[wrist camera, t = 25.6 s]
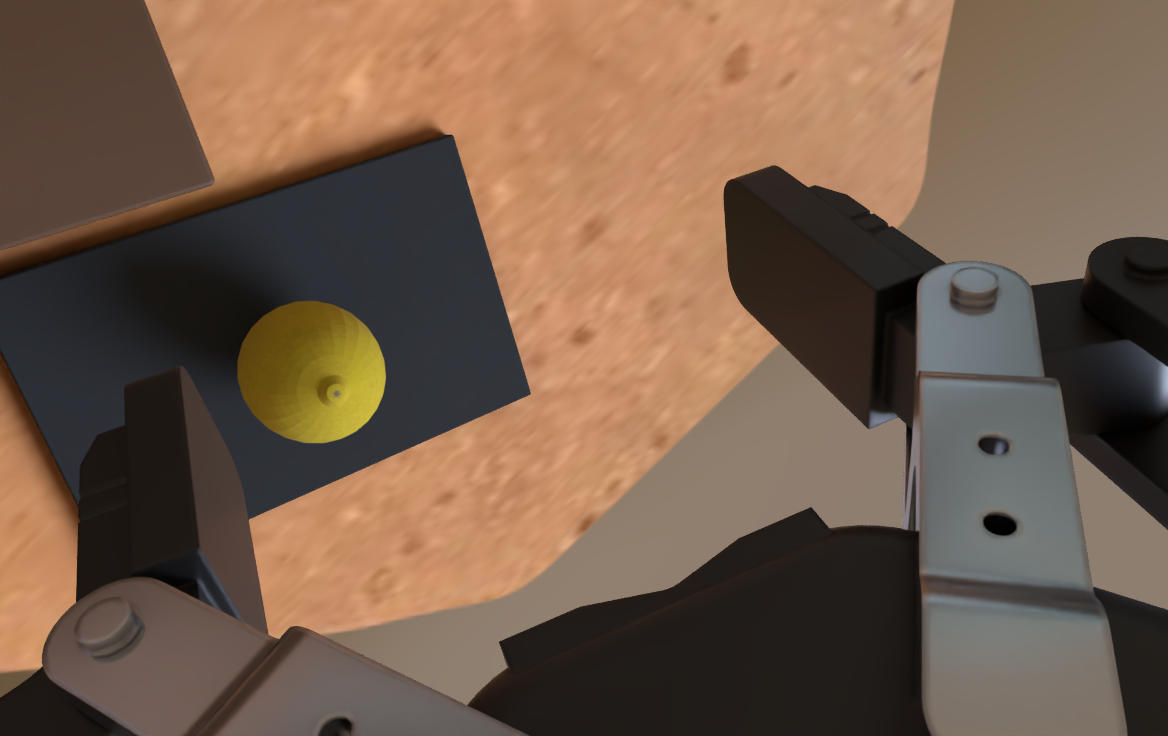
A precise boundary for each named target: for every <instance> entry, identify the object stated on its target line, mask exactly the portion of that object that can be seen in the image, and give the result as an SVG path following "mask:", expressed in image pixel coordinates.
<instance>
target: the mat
mask: <svg viewBox="0 0 1168 736" xmlns="http://www.w3.org/2000/svg"><path fill="white" fill-rule="evenodd" d="M299 301H318V302H323V303H328V304H333V305H335V306H337V307H339V308H341V309H344V310H346V311H348V312H350V313H352V314H353V315H354V316H355V317H356V318H358V319H359V320H360V321H361V322H362V323H363V324H365V325H366V326H367V328H368V329H369V330H370V332H371V333H372V335H373V336H374V338H375V339H376V341H377V342H378V344H379V347H380V350H381V353H382V355H383V358H384V362H385V373H386V381H385V387H384V393H383V396H382V399H381V401H380V403H379V406H378V408H377V410H376V411H375V412H374V414H373V415H372V416H371V418H370V419H369V420H368V422H366V423H365V424H364V425H363V426H362V427H360V428H359V429H358V430H357V431H356V432H354V433H352V434H350V435H348V436H346V437H344V438H342V439H339V440H335V441H331V442H326V443H303V442H299V441H295V440H292V439H288V438H285V437H283V436H281V435H279V434H277V433H276V432H274V431H272V430H270V429H268V428H267V427H266V426H265V425H264V424H263V423H262V422H261V421H260V420H259V419H258V418H256V417H255V416H254V415H253V414H252V412H251V410H250V408H249V407H248V405H247V403H246V402H245V400H244V398H243V397H242V393H241V389H240V386H239V382H238V378H237V373H238V357H239V353H240V350H241V346H242V343H243V341H244V339H245V338H246V336H247V334H248V333H249V331H250V329H251V328H252V327H253V326H254V325H255V324H256V323H257V322H258V321H259V320H260V319H261V318H262V317H263V316H264V315H266V314H267V313H269V312H271V311H272V310H274V309H276V308H277V307H280V306H283V305H287V304H290V303H293V302H299ZM0 352H1V354H2V356H3V358H4V360H5V362H6V364H7V366H8V368H9V370H10V372H11V374H12V376H13V378H14V380H15V382H16V384H17V386H18V388H19V390H20V392H21V394H22V396H23V398H24V400H25V402H26V404H27V406H28V408H29V410H30V412H31V414H32V416H33V418H34V420H35V422H36V424H37V426H38V428H39V430H40V432H41V434H42V436H43V438H44V440H45V442H46V444H47V446H48V448H49V450H50V452H51V454H52V456H53V458H54V460H55V462H56V464H57V466H58V468H59V470H60V472H61V474H62V476H63V478H64V480H65V482H66V484H67V486H68V488H69V490H70V492H71V494H72V496H73V498H74V500H75V502H76V504H77V506H78V508H79V499H81V497H80V495H79V478H80V464H81V463H82V461H83V459H84V457H85V456H86V454H87V452H88V450H89V448H90V447H91V445H92V443H93V441H94V440H95V438H96V436H97V435H98V434H101V433H104V432H107V431H109V430H112V429H115V428H118V427H121V426H124V425H125V407H124V387H125V385H126V384H129V383H132V382H135V381H138V380H141V379H144V378H147V377H150V376H153V375H156V374H158V373H161V372H164V371H167V370H170V369H173V368H176V367H179V366H183V367H184V368H185V369H186V371H187V372H188V374H189V375H190V377H191V379H192V381H193V383H194V384H195V386H196V388H197V390H198V392H199V394H200V396H201V398H202V400H203V402H204V404H205V406H206V408H207V410H208V411H209V413H210V415H211V417H212V419H213V421H214V423H215V425H216V427H217V429H218V431H219V433H220V435H221V437H222V438H223V440H224V442H225V444H226V446H227V448H228V450H229V452H230V454H231V457H232V459H233V461H234V464H235V466H236V469H237V472H238V475H239V478H240V481H241V484H242V488H243V492H244V497H245V503H246V509H247V515H248V519H251V518H253V517H255V516H257V515H260V514H262V513H264V512H266V511H269V510H271V509H273V508H276V507H278V506H280V505H282V504H285V503H287V502H289V501H291V500H294V499H296V498H298V497H300V496H303V495H305V494H307V493H309V492H312V491H314V490H316V489H318V488H321V487H323V486H325V485H327V484H330V483H332V482H334V481H336V480H339V479H341V478H343V477H345V476H348V475H350V474H352V473H354V472H357V471H359V470H361V469H363V468H366V467H368V466H370V465H373V464H375V463H377V462H379V461H382V460H384V459H386V458H388V457H391V456H393V455H395V454H397V453H400V452H402V451H404V450H406V449H409V448H411V447H413V446H415V445H418V444H420V443H422V442H424V441H427V440H429V439H431V438H433V437H436V436H438V435H440V434H442V433H445V432H447V431H449V430H451V429H454V428H456V427H458V426H460V425H463V424H465V423H467V422H470V421H472V420H474V419H476V418H479V417H481V416H483V415H485V414H488V413H490V412H492V411H494V410H497V409H499V408H501V407H503V406H506V405H508V404H510V403H512V402H515V401H517V400H519V399H521V398H524V397H526V396H528V395H530V394H531V392H530V389H529V386H528V382H527V379H526V376H525V372H524V369H523V366H522V362H521V359H520V356H519V352H518V349H517V346H516V342H515V339H514V336H513V333H512V329H511V326H510V323H509V319H508V316H507V313H506V309H505V306H504V303H503V299H502V296H501V293H500V289H499V286H498V283H497V279H496V276H495V273H494V269H493V266H492V263H491V259H490V256H489V253H488V250H487V246H486V243H485V240H484V236H483V233H482V230H481V226H480V223H479V220H478V216H477V213H476V210H475V206H474V203H473V200H472V196H471V193H470V190H469V186H468V183H467V180H466V176H465V173H464V170H463V167H462V163H461V160H460V157H459V153H458V150H457V147H456V143H455V140H454V137H453V135H444V136H441V137H438V138H435V139H432V140H429V141H425V142H422V143H419V144H416V145H413V146H410V147H407V148H403V149H400V150H397V151H394V152H391V153H388V154H385V155H381V156H378V157H375V158H372V159H369V160H366V161H363V162H359V163H356V164H353V165H350V166H347V167H344V168H340V169H337V170H334V171H331V172H328V173H325V174H322V175H318V176H315V177H312V178H309V179H306V180H303V181H300V182H296V183H293V184H290V185H287V186H284V187H281V188H277V189H274V190H271V191H268V192H265V193H262V194H259V195H255V196H252V197H249V198H246V199H243V200H240V201H237V202H233V203H230V204H227V205H224V206H221V207H218V208H214V209H211V210H208V211H205V212H202V213H199V214H196V215H192V216H189V217H186V218H183V219H180V220H177V221H174V222H170V223H167V224H164V225H161V226H158V227H155V228H151V229H148V230H145V231H142V232H139V233H136V234H133V235H129V236H126V237H123V238H120V239H117V240H114V241H111V242H107V243H104V244H101V245H98V246H95V247H92V248H88V249H85V250H82V251H79V252H76V253H73V254H70V255H66V256H63V257H60V258H57V259H54V260H51V261H48V262H44V263H41V264H38V265H35V266H32V267H29V268H26V269H22V270H19V271H16V272H13V273H10V274H7V275H3V276H0Z"/></svg>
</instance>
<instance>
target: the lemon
mask: <svg viewBox="0 0 1168 736" xmlns="http://www.w3.org/2000/svg"><path fill="white" fill-rule="evenodd" d="M237 378H238V382H239V386H240V389H241V393H242V397H243V398H244V400H245V402H246V403H247V405H248V407H249V408H250V410H251V412H252V414H253V415H254V416H255V417H256V418H258V419H259V420H260V421H261V422H262V423H263V424H264V425H265V426H266V427H267V428H268V429H270V430H272V431H274V432H276V433H277V434H279V435H281V436H283V437H285V438H288V439H292V440H295V441H299V442H303V443H326V442H331V441H335V440H339V439H342V438H344V437H346V436H348V435H350V434H352V433H354V432H356V431H357V430H358V429H359V428H360V427H362V426H363V425H364V424H365V423H366V422H368V420H369V419H370V418H371V416H372V415H373V414H374V412H375V411H376V410H377V408H378V406H379V403H380V401H381V399H382V396H383V393H384V387H385V381H386V373H385V362H384V358H383V355H382V353H381V350H380V347H379V344H378V342H377V341H376V339H375V338H374V336H373V335H372V333H371V332H370V330H369V329H368V328H367V326H366V325H365V324H363V323H362V322H361V321H360V320H359V319H358V318H356V317H355V316H354V315H353V314H352V313H350V312H348V311H346V310H344V309H341V308H339V307H337V306H335V305H333V304H328V303H323V302H318V301H299V302H293V303H290V304H287V305H283V306H280V307H277V308H276V309H274V310H272V311H271V312H269V313H267V314H266V315H264V316H263V317H262V318H261V319H260V320H259V321H258V322H257V323H256V324H255V325H254V326H253V327H252V328H251V329H250V331H249V333H248V334H247V336H246V338H245V339H244V341H243V343H242V346H241V350H240V353H239V357H238V373H237Z"/></svg>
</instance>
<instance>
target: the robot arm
mask: <svg viewBox="0 0 1168 736" xmlns="http://www.w3.org/2000/svg"><path fill="white" fill-rule="evenodd" d="M724 212H725V228H726V244H727V260H728V272H729V277H730V281H731V284H732V287H733V290H734V292H735V294H736V296H737V298H738V300H739V301H740V303H741V304H742V306H743V307H744V308H745V309H746V310H747V311H748V312H749V313H750V314H751V315H752V316H753V317H754V318H755V319H756V320H757V321H758V322H759V323H760V324H761V325H762V326H763V327H765V328H766V329H767V330H768V331H769V332H770V333H771V334H772V335H773V336H774V337H775V338H776V339H777V340H778V341H779V342H780V343H781V344H782V345H783V346H784V347H785V348H786V349H787V350H788V351H789V352H790V353H791V354H792V355H793V356H794V357H795V358H796V359H797V360H798V361H799V362H800V363H801V364H802V365H803V366H804V367H805V368H806V369H807V370H809V371H810V372H811V373H812V374H813V375H814V376H815V377H816V378H817V379H818V380H819V381H820V382H821V383H822V384H823V385H824V386H825V387H826V388H827V389H828V390H829V391H830V392H831V393H832V394H833V395H834V396H835V397H836V398H837V399H838V400H839V401H840V402H841V403H842V404H843V405H844V406H845V407H846V408H847V409H849V411H850V412H851V413H852V414H854V416H856V417H857V418H858V419H859V420H860V421H861V422H862V423H863V424H864V425H865V426H866V427H867V428H868V429H871V428H874V427H876V426H879V425H881V424H883V423H886V422H888V421H891V420H893V419H895V418H898V417H899V418H900V419H901V420H902V421H903V422H905V423H906V428H905V439H904V484H903V529H900V528H895V527H885V526H866V525H865V526H864V525H857V526H845V527H836V528H830V529H829V528H828V526H827V525H826V524H825V523H824V522H823V520H822V519H821V518H820V517H819V516H818V515H817V513H816V512H815V511H814V510H813V509H812V508H811V507H810V508H808V509H806V510H804V511H801V512H799V513H797V514H794V515H792V516H790V517H787V518H785V519H783V520H780V521H778V522H776V523H773V524H771V525H769V526H767V527H764V528H762V529H759V530H757V531H755V532H752V533H750V534H748V535H746V536H743V537H741V538H739V539H737V540H736V541H735V542H733V543H732V544H731V545H729V546H728V547H727V548H725V549H724V550H723V551H721V552H720V553H719V554H717V555H716V556H715V557H713V558H712V559H711V560H709V561H708V562H707V563H706V564H704V565H703V566H701V567H700V568H699V569H697V570H696V571H695V572H693V573H692V574H691V575H689V576H688V577H687V578H685V579H684V580H683V581H681V582H680V583H678V584H677V585H675V586H674V587H671V588H669V589H666V590H663V591H657V592H652V593H647V594H642V595H637V596H632V597H627V598H622V599H617V600H612V601H607V602H603V603H597V604H592V605H587V606H582V607H579V608H576V609H574V610H572V611H569V612H567V613H565V614H562V615H560V616H558V617H555V618H553V619H551V620H549V621H546V622H544V623H541V624H539V625H537V626H535V627H532V628H530V629H528V630H525V631H523V632H521V633H518V634H516V635H514V636H511V637H509V638H507V639H504V640H502V641H500V642H499V643H500V646H501V649H502V652H503V655H504V658H505V661H506V664H507V667H508V668H506V669H505V670H504V671H502V672H501V673H500V674H498V675H497V676H496V677H494V678H493V679H492V680H491V681H490V682H489V683H488V684H487V685H486V686H485V687H483V688H482V689H481V690H480V691H479V692H478V693H477V694H476V696H475V697H474V698H473V699H472V700H471V701H470V702H469V704H468V705H465V704H463V703H461V702H459V701H457V700H455V699H453V698H451V697H449V696H447V695H444V694H442V693H440V692H438V691H436V690H434V689H432V688H430V687H428V686H426V685H424V684H422V683H420V682H417V681H416V680H413V679H411V678H409V677H407V676H405V675H403V674H401V673H399V672H397V671H395V670H393V669H391V668H389V667H387V666H384V665H382V664H380V663H378V662H376V661H374V660H372V659H370V658H368V657H366V656H364V655H362V654H360V653H358V652H355V651H353V650H351V649H349V648H347V647H345V646H343V645H341V644H339V643H337V642H335V641H333V640H331V639H329V638H327V637H325V636H323V635H320V634H318V633H316V632H314V631H312V630H310V629H307V628H304V627H299V626H293V627H290V628H289V629H288V630H287V631H286V632H285V633H284V634H283V635H282V637H281V638H280V639H277V638H274V637H272V636H270V635H268V629H267V623H266V618H265V612H264V606H263V601H262V595H261V589H260V583H259V578H258V572H257V566H256V560H255V555H254V549H253V543H252V538H251V532H250V526H249V520H248V515H247V509H246V503H245V497H244V492H243V488H242V484H241V481H240V478H239V475H238V472H237V469H236V466H235V464H234V461H233V459H232V457H231V454H230V452H229V450H228V448H227V446H226V444H225V442H224V440H223V438H222V437H221V435H220V433H219V431H218V429H217V427H216V425H215V423H214V421H213V419H212V417H211V415H210V413H209V411H208V410H207V408H206V406H205V404H204V402H203V400H202V398H201V396H200V394H199V392H198V390H197V388H196V386H195V384H194V383H193V381H192V379H191V377H190V375H189V374H188V372H187V371H186V369H185V368H184V367H183V366H179V367H176V368H173V369H170V370H167V371H164V372H161V373H158V374H156V375H153V376H150V377H147V378H144V379H141V380H138V381H135V382H132V383H129V384H126V385H125V387H124V407H125V425H124V426H121V427H118V428H115V429H112V430H109V431H107V432H104V433H101V434H98V435H97V436H96V438H95V440H94V441H93V443H92V445H91V447H90V448H89V450H88V452H87V454H86V456H85V457H84V459H83V461H82V463H81V464H80V478H79V495H80V497H81V499H79V514H78V517H79V519H80V523H78V551H77V587H76V603H75V604H74V605H73V606H72V607H70V608H69V609H68V610H67V611H66V612H65V613H64V614H63V615H62V616H61V618H60V619H59V620H58V621H57V623H56V624H55V625H54V627H53V628H52V630H51V632H50V633H49V635H48V637H47V640H46V642H45V644H44V648H43V653H42V664H43V666H42V667H41V668H40V669H39V670H38V671H37V672H36V673H35V674H33V675H32V676H31V677H30V678H29V679H27V680H26V681H25V682H23V683H22V684H20V685H19V686H17V687H16V688H14V689H13V690H11V691H10V692H8V693H7V694H5V695H4V696H2V697H1V698H0V736H1168V610H1166V609H1163V608H1160V607H1157V606H1153V605H1150V604H1146V603H1144V602H1140V601H1137V600H1134V599H1131V598H1128V597H1125V596H1121V595H1118V594H1115V593H1112V592H1109V591H1105V590H1102V589H1099V588H1096V587H1093V585H1092V579H1091V573H1090V566H1089V560H1088V554H1087V548H1086V542H1085V536H1084V530H1083V524H1082V517H1081V511H1080V505H1079V498H1078V492H1077V486H1076V480H1075V474H1074V467H1073V461H1072V455H1071V449H1070V444H1071V445H1072V446H1073V447H1074V448H1075V449H1076V450H1077V451H1078V452H1080V453H1081V454H1082V455H1083V456H1084V457H1085V458H1087V459H1088V460H1089V461H1090V462H1091V463H1092V464H1093V465H1095V466H1096V467H1097V468H1098V469H1099V470H1100V471H1101V472H1103V473H1104V474H1105V475H1106V476H1107V477H1108V478H1109V479H1110V480H1112V481H1113V482H1114V483H1115V484H1116V485H1117V486H1119V487H1120V488H1121V489H1122V490H1123V491H1124V492H1125V493H1126V494H1128V495H1129V496H1130V497H1131V498H1132V499H1133V500H1134V501H1136V502H1137V503H1138V504H1139V505H1140V506H1141V507H1142V508H1144V509H1145V510H1146V511H1147V512H1148V513H1149V514H1150V515H1151V516H1153V517H1154V518H1155V519H1156V520H1157V521H1158V522H1159V523H1161V524H1162V525H1163V526H1164V527H1165V528H1166V529H1167V530H1168V240H1163V239H1158V238H1148V237H1127V238H1120V239H1115V240H1111V241H1108V242H1106V243H1103V244H1101V245H1099V246H1098V247H1096V248H1095V249H1094V250H1093V251H1092V252H1091V254H1090V256H1089V258H1088V263H1087V268H1086V273H1085V277H1084V278H1083V279H1075V280H1068V281H1061V282H1054V283H1047V284H1040V285H1032V286H1030V285H1029V283H1028V282H1027V281H1026V280H1025V279H1024V278H1023V277H1022V276H1021V275H1019V274H1018V273H1016V272H1015V271H1012V270H1011V269H1009V268H1006V267H1003V266H1001V265H997V264H993V263H988V262H981V261H980V262H979V261H960V262H953V263H948V264H946V263H945V262H943V261H942V260H940V259H939V258H937V257H936V256H935V255H933V254H932V253H930V252H929V251H927V250H926V249H924V248H923V247H922V246H920V245H919V244H917V243H916V242H914V241H913V240H911V239H910V238H908V237H907V236H906V235H904V234H903V233H901V232H900V231H898V230H897V229H896V228H894V227H893V226H891V227H889V226H888V223H887V222H885V221H884V220H883V219H881V218H880V217H878V216H877V215H875V214H870V211H869V210H868V209H867V208H865V207H864V206H862V205H861V204H859V203H858V202H857V201H855V200H854V199H852V198H851V197H849V196H848V195H846V194H843V193H839V192H836V191H833V190H829V189H826V188H823V187H819V186H816V185H814V186H811V187H809V188H808V187H807V186H805V185H804V184H802V183H801V182H800V181H798V180H797V179H795V178H794V177H793V176H791V175H790V174H788V173H787V172H786V171H784V170H783V169H782V168H780V167H778V166H775V165H774V166H770V167H767V168H764V169H761V170H758V171H755V172H752V173H749V174H746V175H743V176H740V177H737V178H734V179H731V180H729V181H728V182H727V183H726V185H725V188H724Z"/></svg>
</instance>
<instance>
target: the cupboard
mask: <svg viewBox="0 0 1168 736" xmlns="http://www.w3.org/2000/svg"><path fill="white" fill-rule="evenodd" d="M213 184H214V176H213V174H212V171H211V169H210V166H209V164H208V161H207V159H206V156H205V154H204V151H203V148H202V146H201V143H200V141H199V138H198V136H197V133H196V131H195V128H194V126H193V123H192V120H191V118H190V115H189V113H188V110H187V108H186V105H185V103H184V100H183V98H182V95H181V92H180V90H179V87H178V85H177V82H176V80H175V77H174V75H173V72H172V70H171V67H170V64H169V62H168V59H167V57H166V54H165V52H164V49H163V47H162V44H161V41H160V39H159V36H158V34H157V31H156V29H155V26H154V24H153V21H152V19H151V16H150V13H149V11H148V8H147V6H146V3H145V1H144V0H0V251H1V250H4V249H7V248H11V247H14V246H17V245H20V244H24V243H27V242H30V241H33V240H37V239H40V238H43V237H46V236H50V235H53V234H56V233H59V232H63V231H66V230H69V229H72V228H76V227H79V226H82V225H85V224H88V223H92V222H95V221H98V220H101V219H105V218H108V217H111V216H114V215H118V214H121V213H124V212H127V211H131V210H134V209H137V208H140V207H144V206H147V205H150V204H153V203H157V202H160V201H163V200H166V199H170V198H173V197H176V196H179V195H183V194H186V193H189V192H192V191H196V190H199V189H202V188H205V187H208V186H211V185H213Z"/></svg>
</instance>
